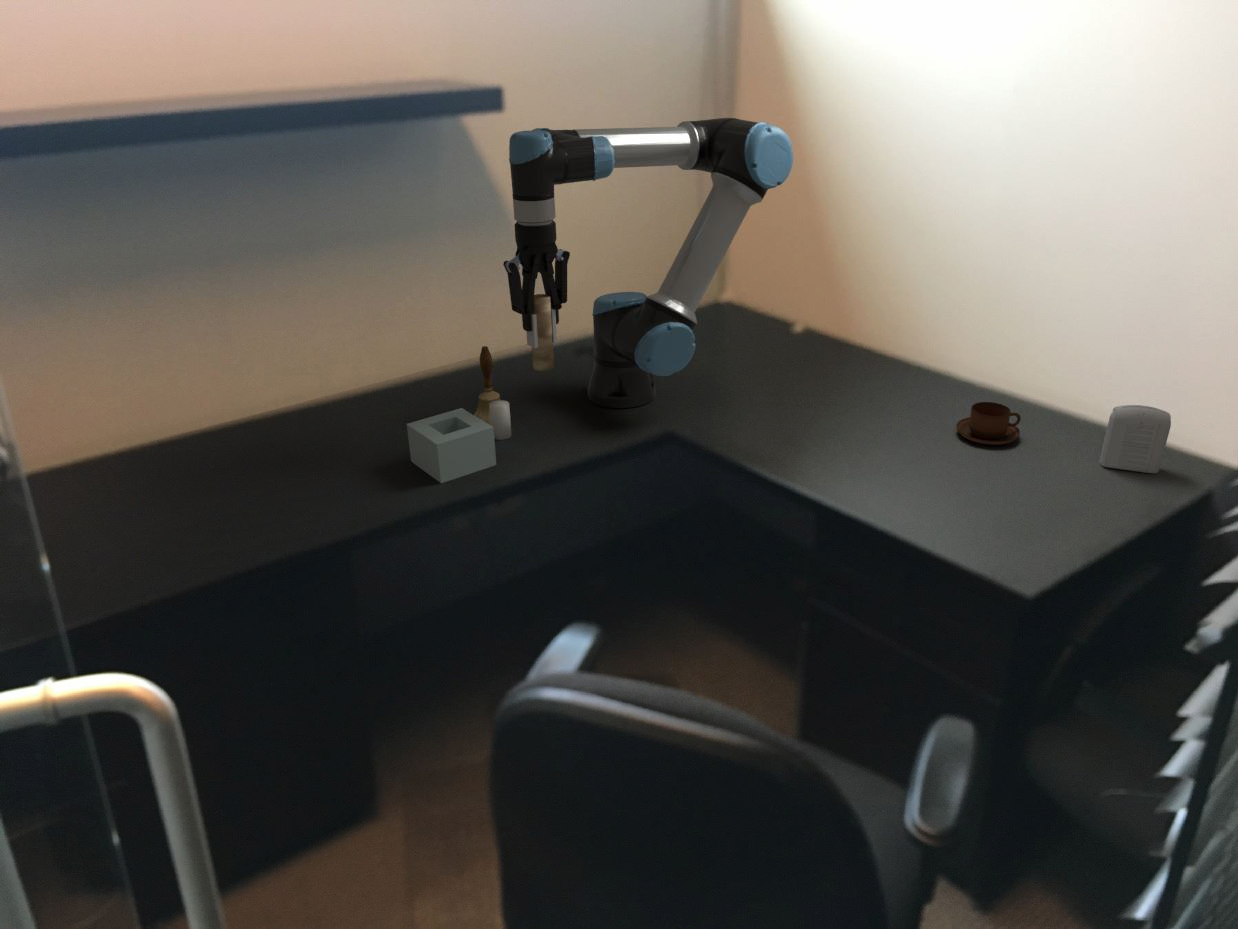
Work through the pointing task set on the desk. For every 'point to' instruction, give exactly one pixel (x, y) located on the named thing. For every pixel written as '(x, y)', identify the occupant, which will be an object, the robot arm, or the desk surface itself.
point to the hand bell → (486, 387)
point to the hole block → (451, 445)
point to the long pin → (543, 334)
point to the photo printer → (1135, 438)
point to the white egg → (500, 419)
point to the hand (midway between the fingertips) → (542, 343)
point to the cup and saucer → (989, 424)
